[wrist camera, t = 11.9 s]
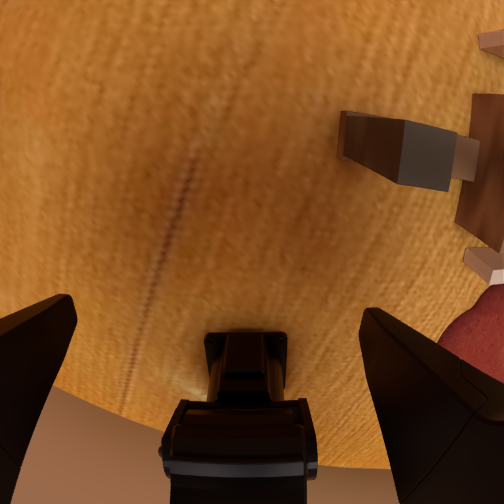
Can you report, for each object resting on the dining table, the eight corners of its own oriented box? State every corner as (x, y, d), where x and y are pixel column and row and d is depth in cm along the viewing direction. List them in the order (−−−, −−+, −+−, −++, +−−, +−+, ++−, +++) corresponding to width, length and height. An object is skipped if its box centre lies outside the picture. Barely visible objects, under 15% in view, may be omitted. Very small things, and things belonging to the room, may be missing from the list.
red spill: (400, 378, 28) (406, 392, 26) (485, 264, 23) (497, 275, 21) (484, 398, 31) (490, 408, 29) (549, 315, 26) (558, 324, 24)
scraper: (472, 223, 21) (549, 280, 12) (330, 208, 21) (378, 276, 12) (490, 100, 17) (583, 112, 8) (344, 59, 17) (409, 24, 8)
